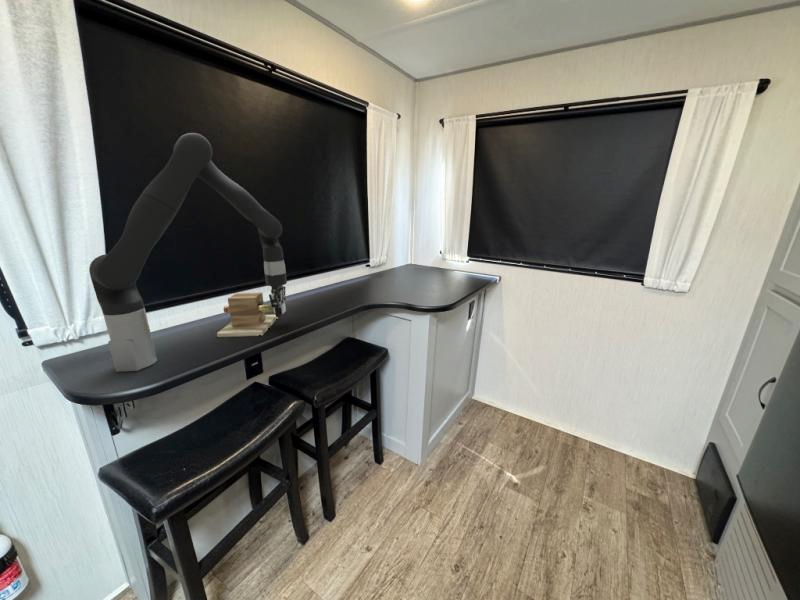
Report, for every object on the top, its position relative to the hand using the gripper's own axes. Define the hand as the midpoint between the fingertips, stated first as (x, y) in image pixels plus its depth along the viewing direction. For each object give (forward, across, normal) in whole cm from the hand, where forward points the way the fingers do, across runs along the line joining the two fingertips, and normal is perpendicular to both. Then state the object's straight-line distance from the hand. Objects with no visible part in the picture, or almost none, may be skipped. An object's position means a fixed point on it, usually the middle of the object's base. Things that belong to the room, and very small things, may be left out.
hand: (280, 314), depth 126 cm
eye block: (+5, 0, -12) cm, 13 cm away
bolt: (-1, 0, -10) cm, 10 cm away
